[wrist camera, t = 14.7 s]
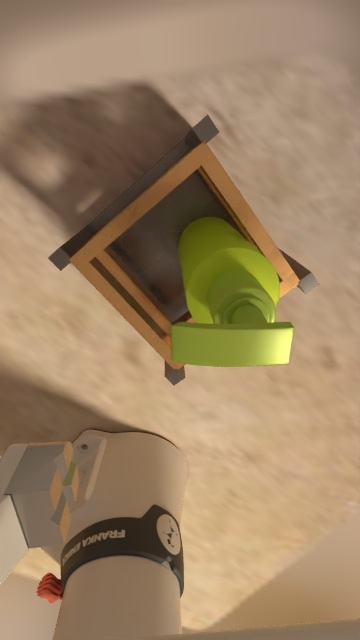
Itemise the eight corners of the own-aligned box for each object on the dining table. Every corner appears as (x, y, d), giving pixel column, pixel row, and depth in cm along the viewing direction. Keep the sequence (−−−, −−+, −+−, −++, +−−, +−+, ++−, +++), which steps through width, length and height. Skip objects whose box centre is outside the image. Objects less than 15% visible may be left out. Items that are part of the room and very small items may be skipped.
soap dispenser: (167, 216, 32) (171, 285, 14) (241, 216, 32) (340, 284, 14) (167, 277, 34) (171, 404, 16) (236, 277, 35) (315, 401, 17)
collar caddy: (171, 332, 38) (173, 385, 29) (79, 232, 33) (48, 258, 24) (278, 253, 35) (319, 284, 26) (194, 129, 30) (207, 114, 21)
